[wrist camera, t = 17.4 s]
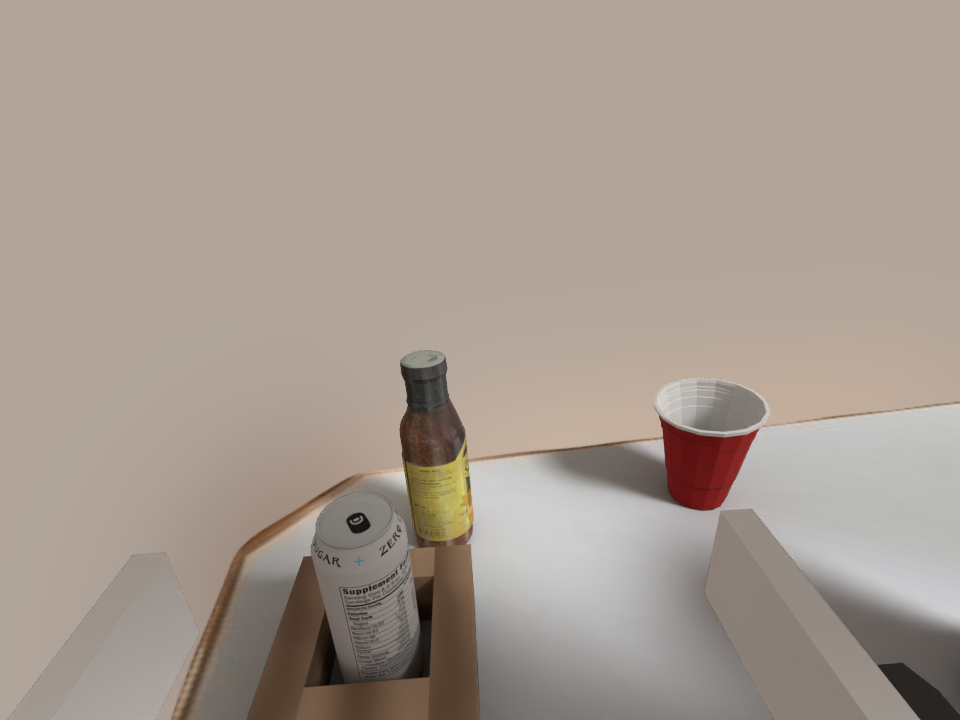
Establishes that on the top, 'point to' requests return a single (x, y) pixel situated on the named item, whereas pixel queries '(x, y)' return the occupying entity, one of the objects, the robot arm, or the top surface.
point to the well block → (384, 704)
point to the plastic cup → (707, 436)
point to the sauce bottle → (434, 454)
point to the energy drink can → (368, 589)
